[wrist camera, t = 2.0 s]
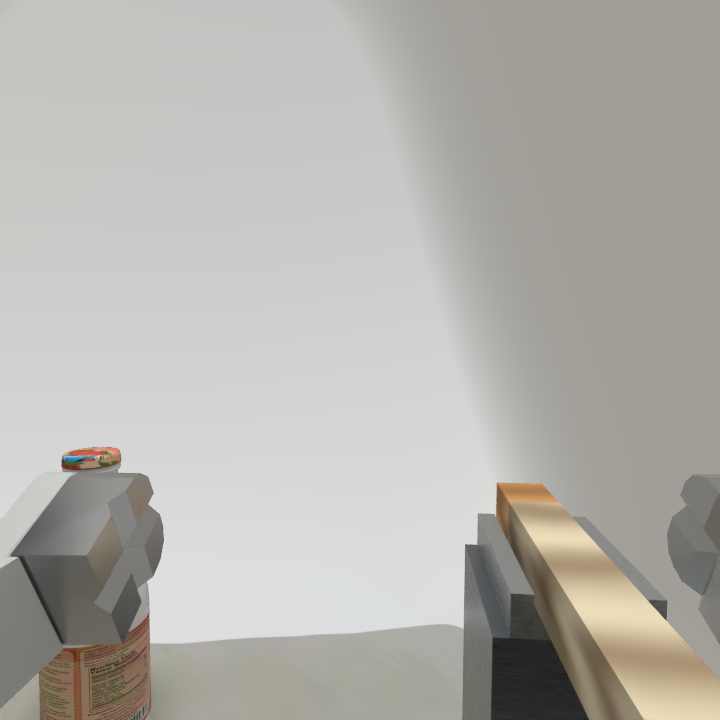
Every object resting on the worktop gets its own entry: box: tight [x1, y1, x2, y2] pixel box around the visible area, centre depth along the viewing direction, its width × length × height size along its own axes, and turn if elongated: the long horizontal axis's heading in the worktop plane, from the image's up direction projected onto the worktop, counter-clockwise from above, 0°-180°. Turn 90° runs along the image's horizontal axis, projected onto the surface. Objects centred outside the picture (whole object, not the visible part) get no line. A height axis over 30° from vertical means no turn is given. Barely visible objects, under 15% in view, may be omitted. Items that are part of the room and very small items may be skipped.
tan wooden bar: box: [496, 483, 720, 720], centre depth 25 cm, size 22×3×3 cm, turn 175°
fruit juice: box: [39, 447, 151, 720], centre depth 49 cm, size 9×9×28 cm
